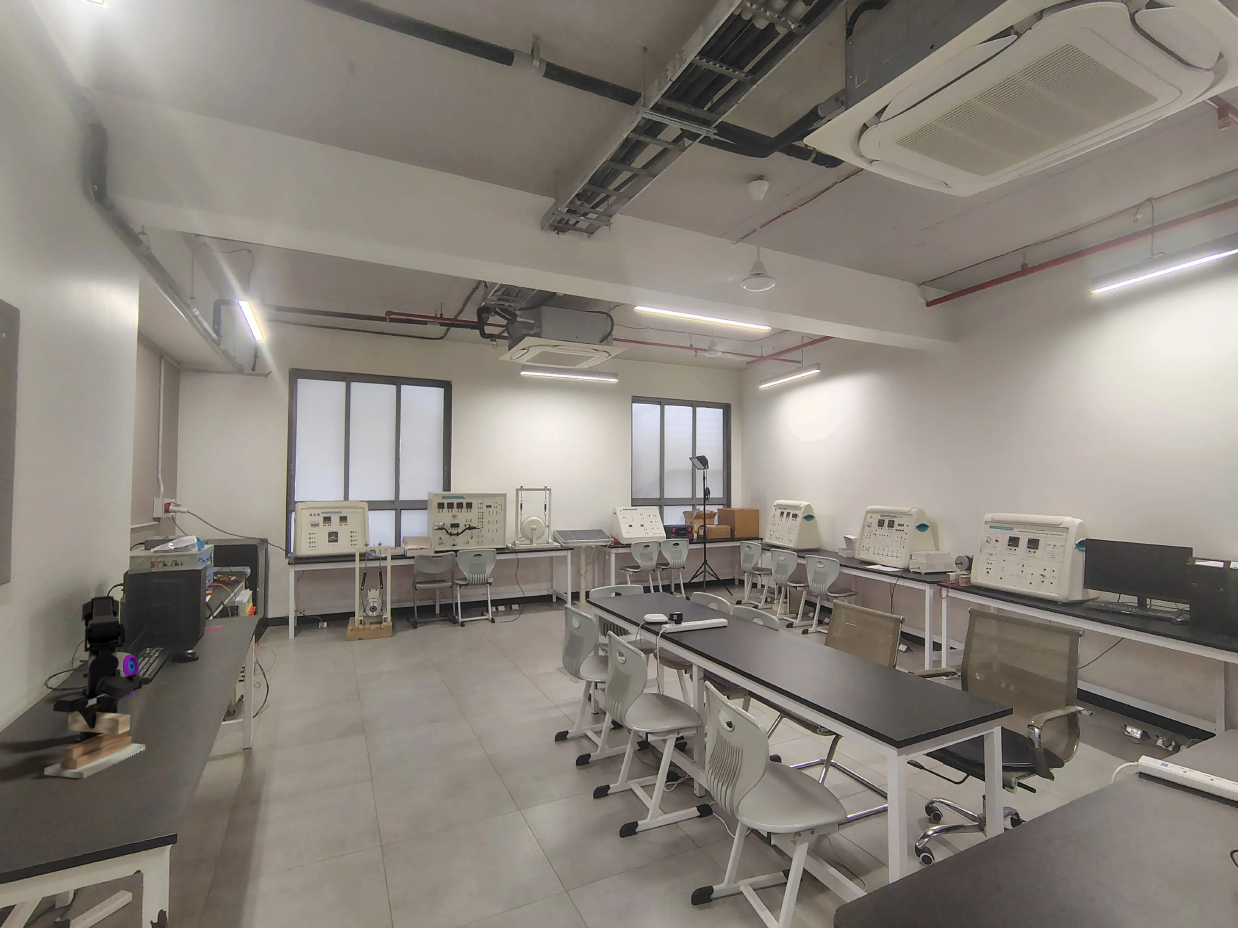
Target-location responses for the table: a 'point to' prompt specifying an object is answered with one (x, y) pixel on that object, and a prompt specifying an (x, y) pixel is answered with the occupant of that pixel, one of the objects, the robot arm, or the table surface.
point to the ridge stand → (94, 755)
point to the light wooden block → (101, 723)
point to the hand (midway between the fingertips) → (98, 725)
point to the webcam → (127, 665)
